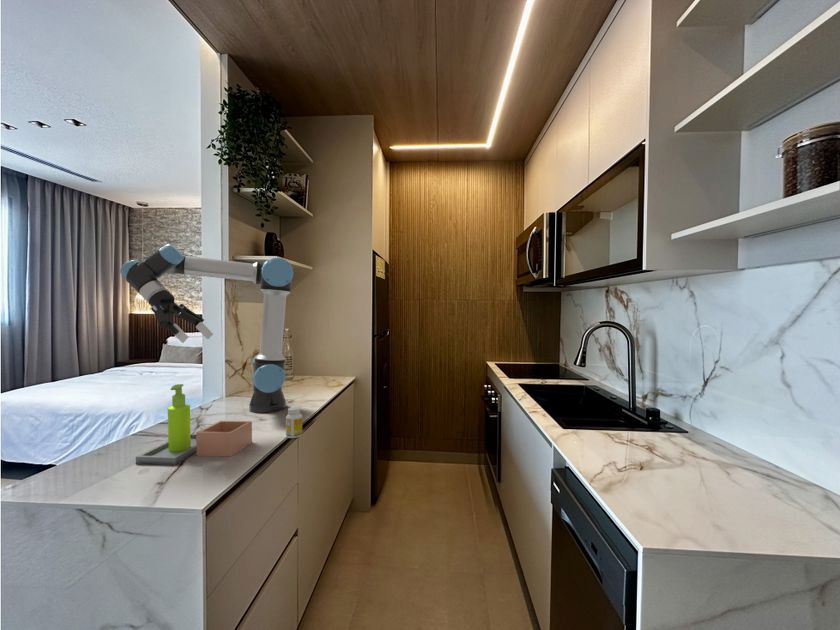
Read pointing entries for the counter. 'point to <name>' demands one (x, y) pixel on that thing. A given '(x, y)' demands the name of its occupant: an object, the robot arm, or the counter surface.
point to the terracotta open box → (224, 438)
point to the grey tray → (166, 454)
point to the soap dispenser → (178, 422)
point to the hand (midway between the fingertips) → (198, 338)
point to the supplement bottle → (293, 423)
